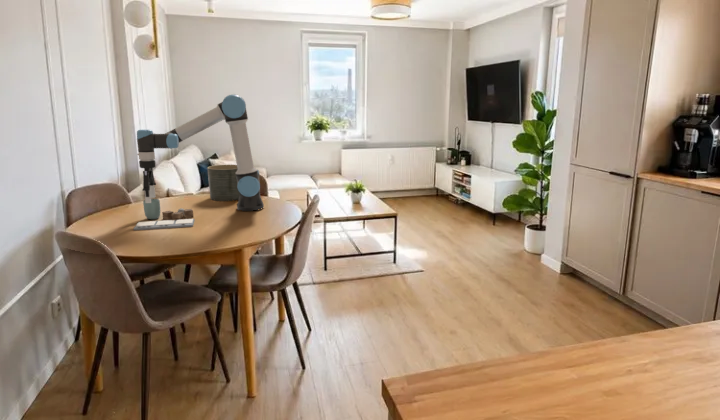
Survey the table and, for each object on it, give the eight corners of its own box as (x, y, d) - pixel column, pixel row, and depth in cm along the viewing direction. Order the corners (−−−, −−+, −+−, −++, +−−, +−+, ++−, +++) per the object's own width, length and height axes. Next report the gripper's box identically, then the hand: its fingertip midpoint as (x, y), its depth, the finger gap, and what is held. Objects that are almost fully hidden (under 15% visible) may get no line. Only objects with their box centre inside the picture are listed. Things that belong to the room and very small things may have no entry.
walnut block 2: (183, 219, 240) (182, 212, 239) (179, 221, 237) (179, 214, 236) (176, 219, 241) (175, 212, 240) (172, 221, 237) (171, 213, 236)
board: (194, 220, 238) (194, 218, 238) (192, 226, 227) (192, 224, 226) (138, 224, 231) (138, 221, 231) (133, 230, 220) (133, 228, 219)
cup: (155, 220, 237) (153, 202, 235) (141, 220, 239) (139, 201, 236) (164, 217, 245) (162, 199, 242) (151, 216, 246) (149, 198, 244)
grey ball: (186, 214, 251) (185, 207, 250) (185, 216, 247) (184, 209, 246) (178, 214, 250) (177, 207, 249) (177, 216, 246) (176, 209, 245)
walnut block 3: (192, 215, 248) (191, 208, 247) (193, 217, 245) (192, 210, 244) (184, 216, 246) (183, 209, 245) (185, 218, 243) (185, 211, 242)
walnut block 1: (169, 217, 244) (169, 210, 243) (174, 219, 242) (173, 211, 241) (163, 219, 241) (162, 212, 240) (167, 220, 238) (166, 213, 237)
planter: (248, 194, 305) (246, 164, 300) (241, 201, 284) (239, 169, 279) (214, 194, 304) (212, 164, 299) (205, 201, 282) (203, 169, 278)
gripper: (143, 157, 245) (146, 195, 250) (134, 163, 222) (138, 205, 227) (158, 157, 247) (161, 195, 252) (150, 163, 224) (154, 205, 229)
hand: (150, 200), depth 239 cm, fingers open, 13 cm apart
